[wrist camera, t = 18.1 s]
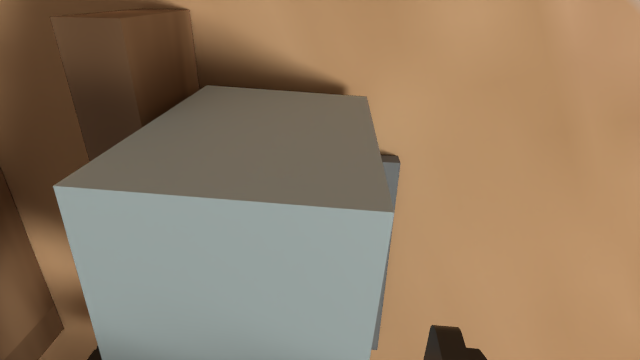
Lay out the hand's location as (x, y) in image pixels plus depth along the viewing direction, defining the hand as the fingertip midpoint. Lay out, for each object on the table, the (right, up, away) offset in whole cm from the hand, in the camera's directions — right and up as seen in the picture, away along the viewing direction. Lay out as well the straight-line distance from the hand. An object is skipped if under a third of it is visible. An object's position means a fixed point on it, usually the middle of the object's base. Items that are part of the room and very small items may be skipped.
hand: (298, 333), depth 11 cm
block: (-1, +4, +2) cm, 4 cm away
